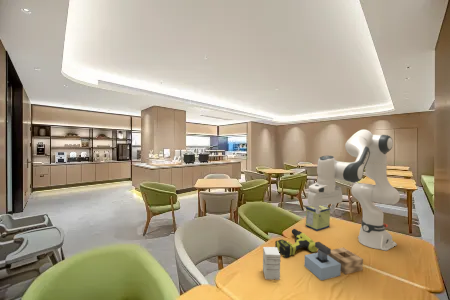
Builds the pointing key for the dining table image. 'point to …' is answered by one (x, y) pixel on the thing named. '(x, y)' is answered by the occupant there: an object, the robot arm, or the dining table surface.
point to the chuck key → (322, 252)
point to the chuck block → (322, 266)
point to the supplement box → (271, 263)
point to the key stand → (347, 260)
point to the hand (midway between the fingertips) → (325, 212)
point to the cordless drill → (301, 241)
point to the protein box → (317, 218)
